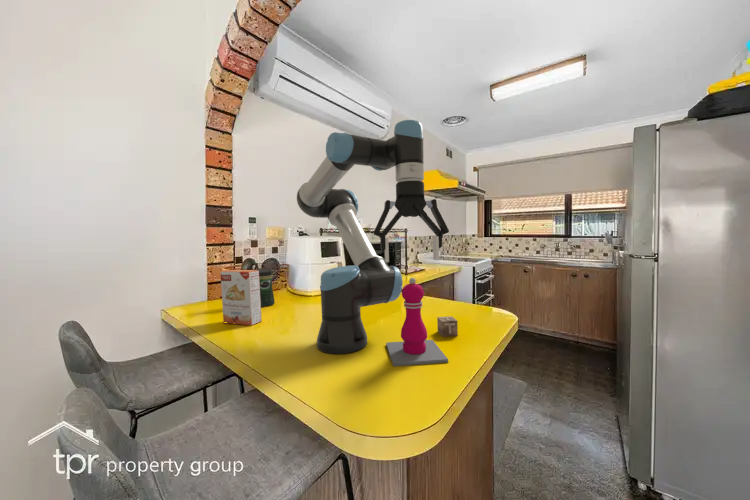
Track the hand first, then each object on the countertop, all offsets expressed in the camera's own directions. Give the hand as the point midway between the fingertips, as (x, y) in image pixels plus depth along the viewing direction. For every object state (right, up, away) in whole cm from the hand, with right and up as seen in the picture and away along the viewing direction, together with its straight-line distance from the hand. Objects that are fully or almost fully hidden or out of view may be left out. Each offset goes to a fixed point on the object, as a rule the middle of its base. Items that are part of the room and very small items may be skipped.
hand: (411, 261), depth 78 cm
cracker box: (-62, -26, +35) cm, 76 cm away
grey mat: (+1, -25, +1) cm, 25 cm away
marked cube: (+14, -24, +16) cm, 32 cm away
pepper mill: (+1, -25, +1) cm, 25 cm away
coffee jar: (-65, -25, +64) cm, 95 cm away
